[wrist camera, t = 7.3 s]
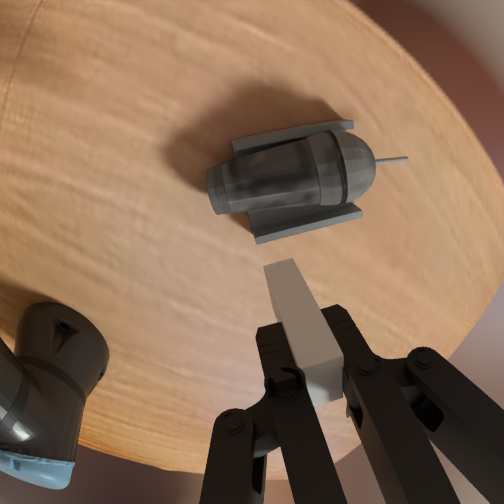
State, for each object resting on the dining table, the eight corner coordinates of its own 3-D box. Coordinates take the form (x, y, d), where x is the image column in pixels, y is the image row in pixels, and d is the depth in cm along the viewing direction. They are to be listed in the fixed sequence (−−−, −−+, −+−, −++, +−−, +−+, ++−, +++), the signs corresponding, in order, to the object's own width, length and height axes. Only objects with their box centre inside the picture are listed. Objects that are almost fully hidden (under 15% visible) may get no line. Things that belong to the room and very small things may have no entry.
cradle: (253, 234, 33) (256, 244, 31) (230, 140, 28) (232, 143, 26) (352, 209, 33) (362, 217, 31) (342, 118, 28) (353, 120, 26)
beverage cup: (195, 146, 24) (416, 111, 21) (214, 161, 31) (390, 131, 29) (211, 231, 24) (436, 189, 22) (227, 227, 32) (405, 194, 29)
